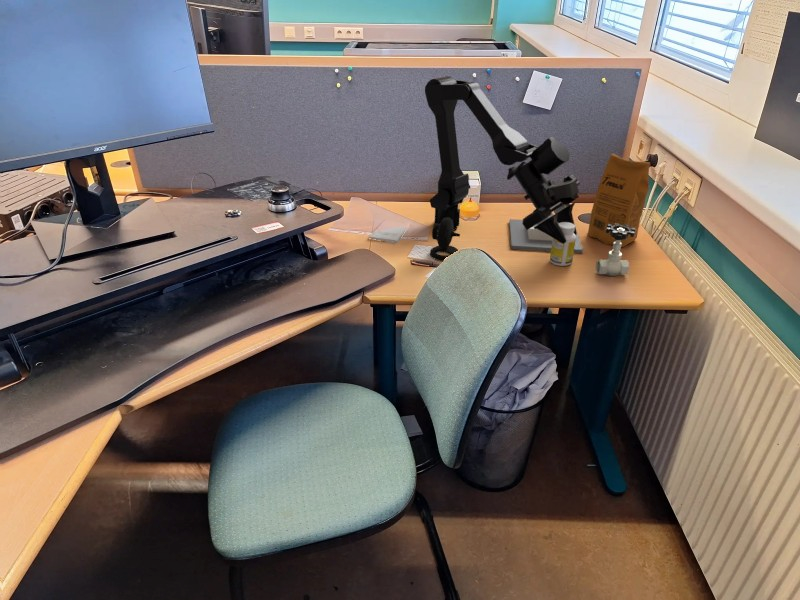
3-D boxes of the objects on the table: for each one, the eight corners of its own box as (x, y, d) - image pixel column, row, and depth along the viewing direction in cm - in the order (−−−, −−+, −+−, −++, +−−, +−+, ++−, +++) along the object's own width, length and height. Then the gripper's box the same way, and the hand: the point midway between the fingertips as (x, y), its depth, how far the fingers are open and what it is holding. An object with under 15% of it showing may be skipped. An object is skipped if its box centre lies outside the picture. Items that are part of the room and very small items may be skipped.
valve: (592, 268, 133) (602, 222, 127) (620, 268, 133) (630, 222, 127) (600, 281, 128) (610, 234, 122) (629, 281, 127) (640, 234, 121)
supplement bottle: (569, 257, 138) (576, 221, 133) (573, 267, 133) (580, 230, 128) (547, 256, 139) (553, 220, 133) (550, 266, 134) (557, 229, 129)
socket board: (511, 249, 142) (512, 234, 140) (509, 222, 158) (510, 209, 156) (582, 253, 140) (585, 238, 138) (573, 225, 156) (575, 212, 154)
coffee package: (601, 226, 155) (617, 148, 144) (641, 240, 147) (661, 159, 136) (580, 235, 150) (594, 155, 139) (620, 250, 142) (639, 167, 130)
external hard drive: (411, 228, 156) (397, 245, 146) (383, 224, 158) (368, 241, 148) (411, 222, 155) (397, 239, 145) (383, 219, 157) (368, 236, 147)
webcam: (435, 246, 144) (436, 211, 139) (462, 251, 141) (465, 215, 136) (425, 259, 138) (426, 222, 132) (454, 264, 135) (456, 226, 130)
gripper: (541, 176, 120) (580, 235, 120) (578, 157, 132) (613, 211, 132) (506, 201, 128) (542, 257, 128) (543, 181, 141) (576, 232, 140)
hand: (570, 238), depth 132 cm, fingers closed on supplement bottle, 5 cm apart
